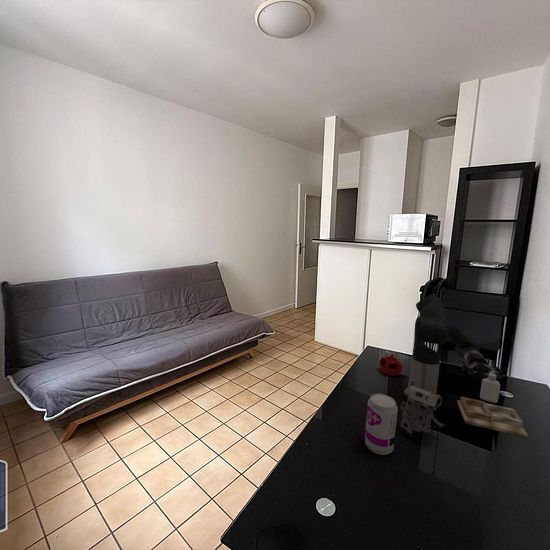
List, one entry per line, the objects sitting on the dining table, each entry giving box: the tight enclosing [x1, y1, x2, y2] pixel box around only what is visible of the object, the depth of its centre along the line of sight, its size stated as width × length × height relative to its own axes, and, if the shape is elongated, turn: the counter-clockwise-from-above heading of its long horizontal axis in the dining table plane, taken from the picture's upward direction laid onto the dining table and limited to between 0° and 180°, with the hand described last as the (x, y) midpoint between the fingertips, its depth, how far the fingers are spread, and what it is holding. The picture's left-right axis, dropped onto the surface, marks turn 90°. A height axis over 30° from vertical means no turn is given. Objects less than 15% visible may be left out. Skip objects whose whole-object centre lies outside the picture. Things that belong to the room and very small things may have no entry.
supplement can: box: [364, 393, 399, 456], centre depth 85 cm, size 8×8×15 cm
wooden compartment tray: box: [456, 396, 529, 439], centre depth 100 cm, size 17×13×3 cm
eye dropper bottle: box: [479, 371, 501, 404], centre depth 111 cm, size 4×6×12 cm
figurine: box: [398, 385, 449, 438], centre depth 91 cm, size 9×12×15 cm
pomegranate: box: [378, 353, 404, 377], centre depth 131 cm, size 10×10×9 cm
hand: (486, 377), depth 117 cm, fingers open, 8 cm apart
